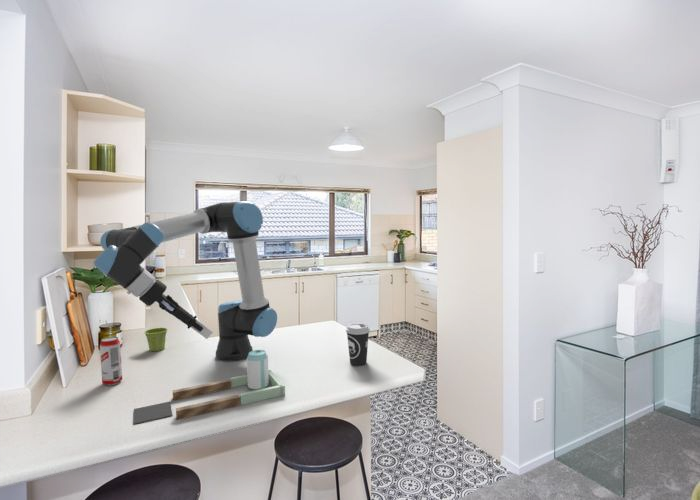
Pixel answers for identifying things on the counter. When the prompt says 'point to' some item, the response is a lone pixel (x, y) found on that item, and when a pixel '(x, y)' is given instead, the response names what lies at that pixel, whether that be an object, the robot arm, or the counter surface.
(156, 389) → the counter surface
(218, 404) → the channel
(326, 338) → the counter surface
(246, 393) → the corral
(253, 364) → the can
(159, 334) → the plant pot
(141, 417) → the pit mat
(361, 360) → the coffee cup
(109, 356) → the beer can
